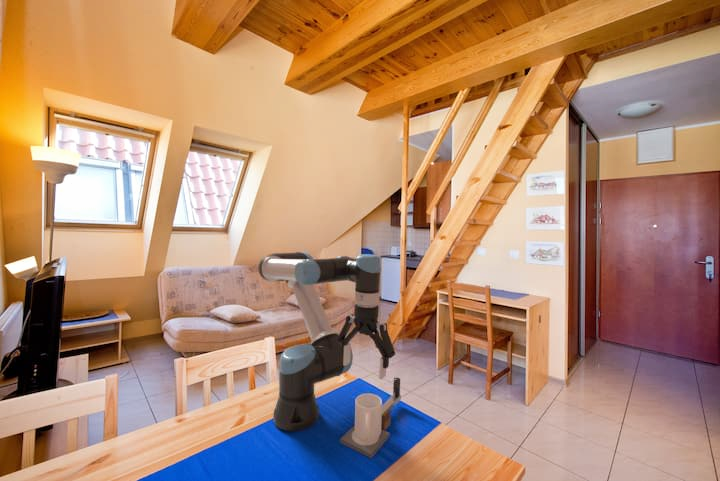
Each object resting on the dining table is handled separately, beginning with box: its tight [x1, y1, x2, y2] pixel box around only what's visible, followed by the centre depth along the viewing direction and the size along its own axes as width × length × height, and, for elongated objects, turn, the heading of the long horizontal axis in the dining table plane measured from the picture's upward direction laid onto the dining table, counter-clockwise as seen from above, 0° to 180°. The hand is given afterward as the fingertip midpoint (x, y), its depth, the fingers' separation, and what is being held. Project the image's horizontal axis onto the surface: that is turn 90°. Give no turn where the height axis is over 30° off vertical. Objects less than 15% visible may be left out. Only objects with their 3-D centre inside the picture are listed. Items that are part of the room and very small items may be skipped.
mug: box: [354, 393, 383, 441], centre depth 95 cm, size 12×8×10 cm
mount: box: [381, 409, 391, 431], centre depth 104 cm, size 6×4×5 cm, turn 57°
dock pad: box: [339, 424, 390, 459], centre depth 96 cm, size 11×11×1 cm
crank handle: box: [382, 377, 402, 414], centre depth 108 cm, size 2×16×8 cm, turn 147°
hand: (363, 370), depth 99 cm, fingers open, 13 cm apart
